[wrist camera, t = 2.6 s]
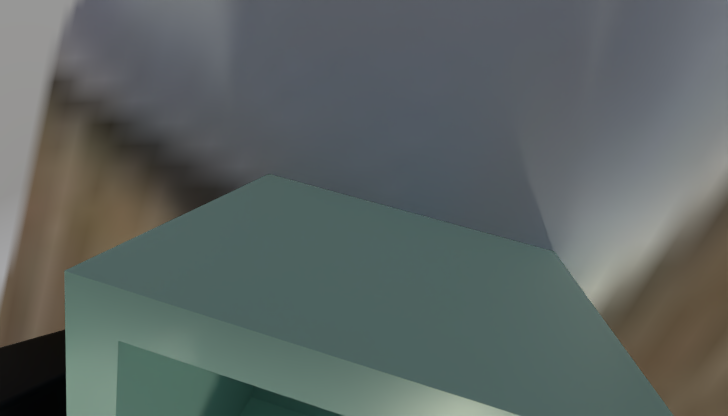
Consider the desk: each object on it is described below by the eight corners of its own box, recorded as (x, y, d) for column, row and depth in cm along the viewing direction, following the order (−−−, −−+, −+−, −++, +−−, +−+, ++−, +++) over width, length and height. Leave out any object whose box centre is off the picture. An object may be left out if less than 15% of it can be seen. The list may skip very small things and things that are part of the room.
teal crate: (552, 249, 8) (720, 479, 3) (463, 467, 10) (485, 816, 5) (271, 172, 9) (65, 270, 4) (237, 390, 10) (70, 638, 6)
